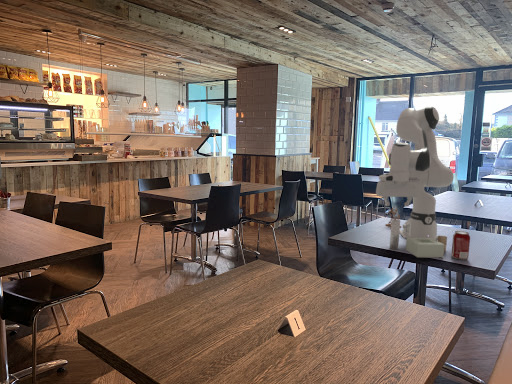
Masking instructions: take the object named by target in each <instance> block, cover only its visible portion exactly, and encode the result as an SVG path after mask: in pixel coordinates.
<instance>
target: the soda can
mask: <svg viewBox="0 0 512 384" xmlns="http://www.w3.org/2000/svg"><path fill="white" fill-rule="evenodd" d="M470 242H471V236H470V232H468V231H465V230H455V232H454V234H453V236H452V243H451V244H452V245H451V254H450V255H451V257H452V258H453V259H455V260H459V261H465V260H467V259H469V253H470V245H471V244H470Z"/></svg>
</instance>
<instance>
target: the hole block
mask: <svg viewBox="0 0 512 384" xmlns="http://www.w3.org/2000/svg"><path fill="white" fill-rule="evenodd" d="M405 241H406V243H405V251H407V252H408V253H410V254H412V255H413V256H415V257H416V258H439V257H442V258H444V253H445V252H444V244H442V243H440V242H438V241H437V239H436V240H434V239H432V238H405Z"/></svg>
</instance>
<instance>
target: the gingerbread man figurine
mask: <svg viewBox="0 0 512 384" xmlns="http://www.w3.org/2000/svg"><path fill="white" fill-rule="evenodd" d="M388 214H389V215H390V217H391V218H390V220H389V222H388V223H386V224H385V227H389V228H391V220H392V219H396V220H401V216H400V214H399V213H398V208H397V207H395V206H394V207H392V208H391V209H389V210H388ZM401 228H402V226H401V225H400V229H401Z"/></svg>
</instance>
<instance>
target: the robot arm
mask: <svg viewBox="0 0 512 384" xmlns="http://www.w3.org/2000/svg"><path fill="white" fill-rule="evenodd" d="M439 120H440V115H439V111H438V110H437V109H436V108H435V107H433V106H426V107H424V108H422V109H418V110H416V109H415V108H412V107H407V108H404V109H403V110H402V111H401V112H400V114H399V116H398V118H397V121H396V128H395V129H396V134H397V136H398V138H400V139H401V140H403V141H405V142H401V141H399V142H395V143H393V144H392V147H391V152H390V153H389V157H388V165H389V166H390V168H389V172H388V173H384V174H381V175H379V176H378V180H379V181H378V182H377V183H376V188H375V195H376V196H378V197H383V200H384V206H385V207H390V201H389V200H388V198H393V197H394V198H399V197H400V198H406V199H407V200H406V202H404V207H409V206H410V203H411V202H412V211H411V213H410V215H409V218H408V219H407V220H406V221H405V222H404V223H403V224H402V229H400V231H399V235H401V236H402V237H403V239H407V238H420V237H421V238H432V239H434V240H436V241H437V240H438V236H439V235H438V233H437V232H438V223H437V222H436V218H437V216H436V203H437V200H436V197H435V196H433V195H432V194H431V193H429V192H428V191H426V190H425V188H445V187H446V188H447V187H450V186H451V184H452V183H453V181H454V179H455V177H454V173H453V170H452V169H451V168H450V167H448V166H446V165H445V164H443V162H442V161H441V160H440V158H439V155H438V150H437V149H438V148H437V147H438V146H437V140H436V135H435V133H434V131H433V130H435V129H436V128H437V125H438V124H439ZM408 142H409V143H408ZM410 143H412V144H413V143H414V149H411V144H410ZM427 235H429V237H428V236H427Z"/></svg>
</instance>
